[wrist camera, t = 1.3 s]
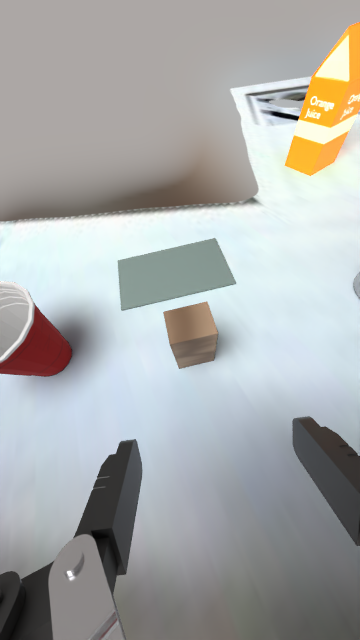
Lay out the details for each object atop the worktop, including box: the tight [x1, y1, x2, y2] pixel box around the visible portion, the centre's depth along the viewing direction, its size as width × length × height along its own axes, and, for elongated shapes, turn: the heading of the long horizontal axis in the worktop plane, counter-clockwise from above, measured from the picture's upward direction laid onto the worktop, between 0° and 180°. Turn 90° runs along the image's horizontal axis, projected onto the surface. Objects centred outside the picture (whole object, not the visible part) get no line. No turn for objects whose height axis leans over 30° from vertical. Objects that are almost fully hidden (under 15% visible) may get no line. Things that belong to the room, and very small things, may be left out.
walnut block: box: [163, 302, 218, 369], centre depth 25 cm, size 5×4×9 cm
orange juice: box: [285, 22, 360, 176], centre depth 41 cm, size 8×9×20 cm
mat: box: [118, 238, 236, 310], centre depth 36 cm, size 20×12×1 cm, turn 102°
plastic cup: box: [0, 281, 72, 377], centre depth 25 cm, size 11×11×12 cm
